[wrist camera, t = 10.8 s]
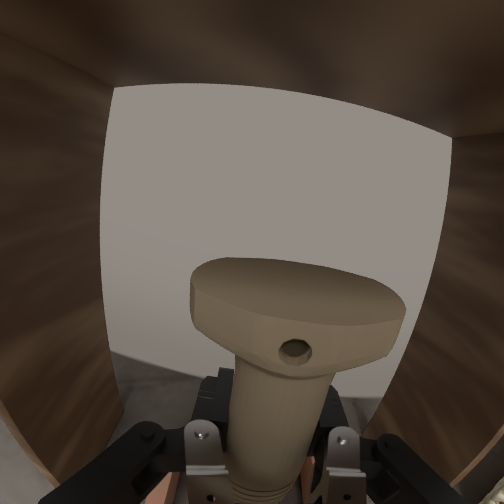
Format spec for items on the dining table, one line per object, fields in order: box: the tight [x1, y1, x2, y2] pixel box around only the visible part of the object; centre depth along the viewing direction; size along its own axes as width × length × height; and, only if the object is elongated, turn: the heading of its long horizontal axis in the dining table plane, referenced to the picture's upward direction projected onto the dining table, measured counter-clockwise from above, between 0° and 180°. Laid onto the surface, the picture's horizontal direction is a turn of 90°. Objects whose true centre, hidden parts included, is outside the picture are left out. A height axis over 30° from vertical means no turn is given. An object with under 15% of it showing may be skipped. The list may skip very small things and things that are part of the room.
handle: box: [190, 257, 406, 504], centre depth 10 cm, size 5×6×15 cm
